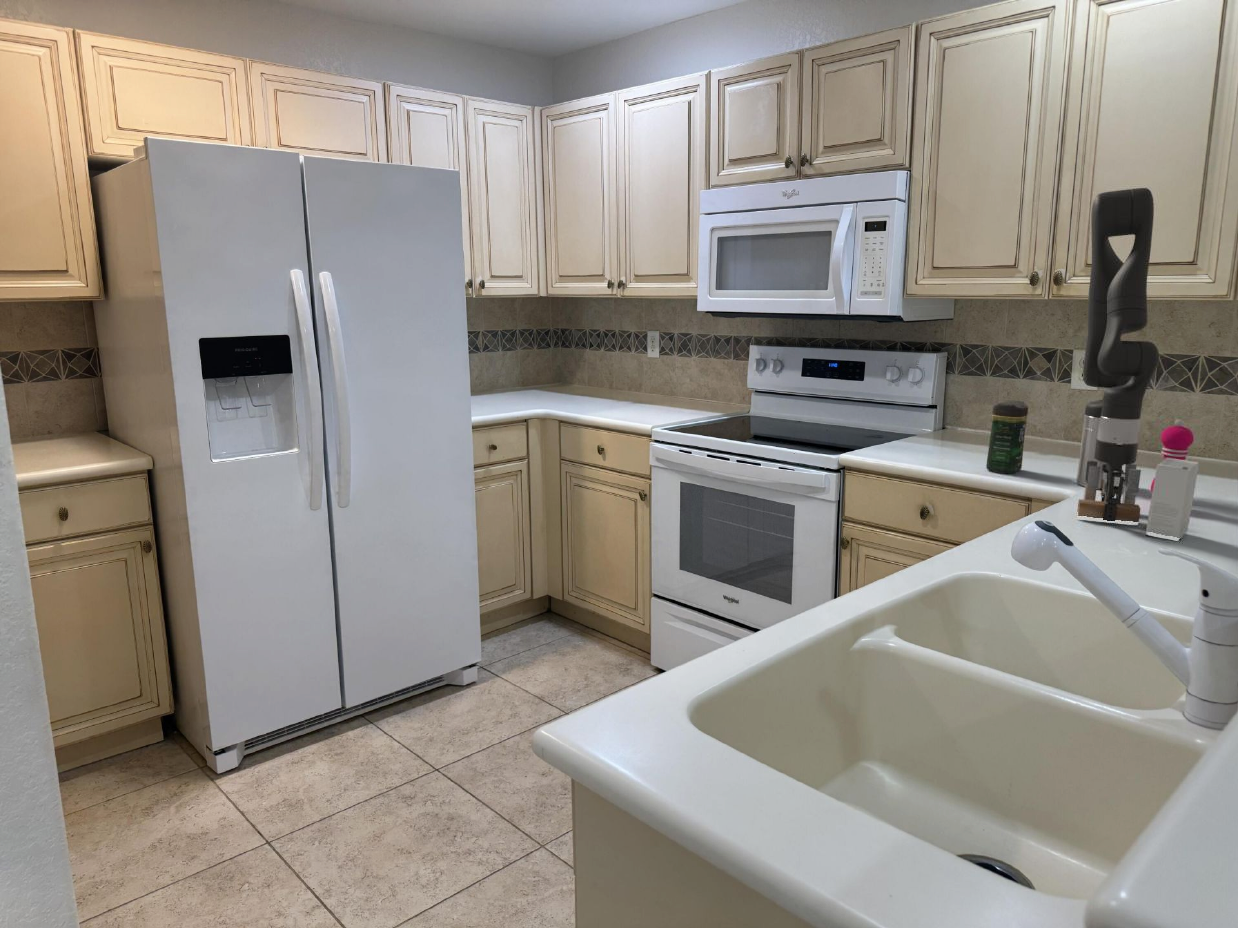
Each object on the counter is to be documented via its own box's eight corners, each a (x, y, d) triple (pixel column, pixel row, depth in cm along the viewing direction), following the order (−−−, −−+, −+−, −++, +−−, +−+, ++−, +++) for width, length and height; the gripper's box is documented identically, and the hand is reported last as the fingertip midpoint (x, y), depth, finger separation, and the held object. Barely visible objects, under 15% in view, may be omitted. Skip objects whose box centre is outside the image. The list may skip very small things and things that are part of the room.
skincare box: (1154, 528, 176) (1164, 456, 173) (1189, 534, 172) (1200, 461, 169) (1144, 536, 170) (1154, 463, 167) (1180, 543, 166) (1191, 467, 163)
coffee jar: (1013, 475, 222) (1020, 404, 218) (982, 471, 227) (988, 401, 224) (1025, 469, 229) (1033, 400, 225) (995, 465, 234) (1001, 397, 231)
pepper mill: (1150, 502, 196) (1163, 415, 192) (1188, 507, 192) (1201, 418, 188) (1145, 508, 191) (1157, 419, 187) (1183, 514, 186) (1197, 423, 182)
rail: (1076, 517, 185) (1078, 499, 184) (1135, 523, 180) (1138, 504, 179) (1077, 521, 182) (1080, 502, 181) (1137, 527, 177) (1140, 508, 176)
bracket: (1080, 505, 194) (1085, 460, 191) (1131, 510, 190) (1137, 464, 187) (1083, 512, 187) (1088, 466, 185) (1135, 517, 184) (1142, 470, 181)
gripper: (1093, 431, 185) (1083, 508, 189) (1100, 443, 172) (1090, 525, 176) (1133, 434, 182) (1123, 512, 186) (1143, 446, 169) (1132, 529, 173)
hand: (1107, 517), depth 181 cm, fingers open, 5 cm apart
